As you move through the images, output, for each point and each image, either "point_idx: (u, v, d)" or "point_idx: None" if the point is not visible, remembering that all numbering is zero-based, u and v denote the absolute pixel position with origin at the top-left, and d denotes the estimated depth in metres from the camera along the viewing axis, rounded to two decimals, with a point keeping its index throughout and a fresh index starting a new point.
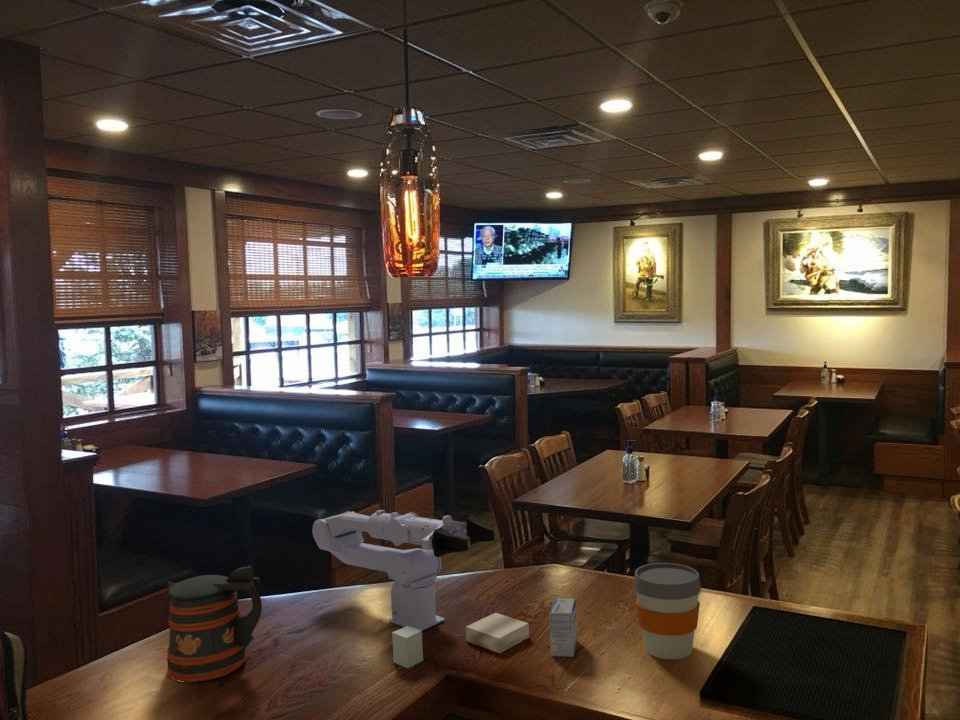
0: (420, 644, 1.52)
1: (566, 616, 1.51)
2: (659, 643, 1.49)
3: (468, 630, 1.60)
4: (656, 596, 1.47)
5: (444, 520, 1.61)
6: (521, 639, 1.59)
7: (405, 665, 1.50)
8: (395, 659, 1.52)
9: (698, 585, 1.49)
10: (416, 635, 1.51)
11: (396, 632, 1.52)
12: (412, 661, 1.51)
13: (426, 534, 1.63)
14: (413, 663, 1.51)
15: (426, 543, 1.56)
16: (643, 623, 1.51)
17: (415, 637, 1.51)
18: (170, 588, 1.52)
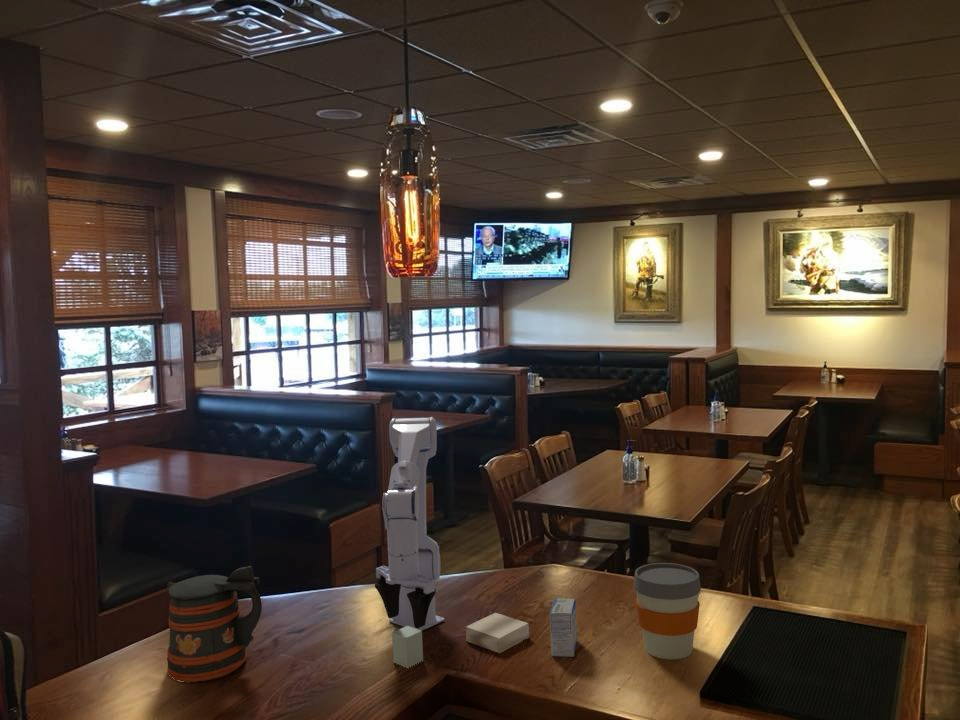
0: (420, 644, 1.52)
1: (566, 616, 1.51)
2: (659, 643, 1.49)
3: (468, 630, 1.60)
4: (656, 596, 1.47)
5: None
6: (521, 639, 1.59)
7: (405, 665, 1.50)
8: (395, 659, 1.52)
9: (698, 585, 1.49)
10: (416, 635, 1.51)
11: (396, 632, 1.52)
12: (412, 661, 1.51)
13: None
14: (413, 663, 1.51)
15: None
16: (643, 623, 1.51)
17: (415, 637, 1.51)
18: (170, 588, 1.52)
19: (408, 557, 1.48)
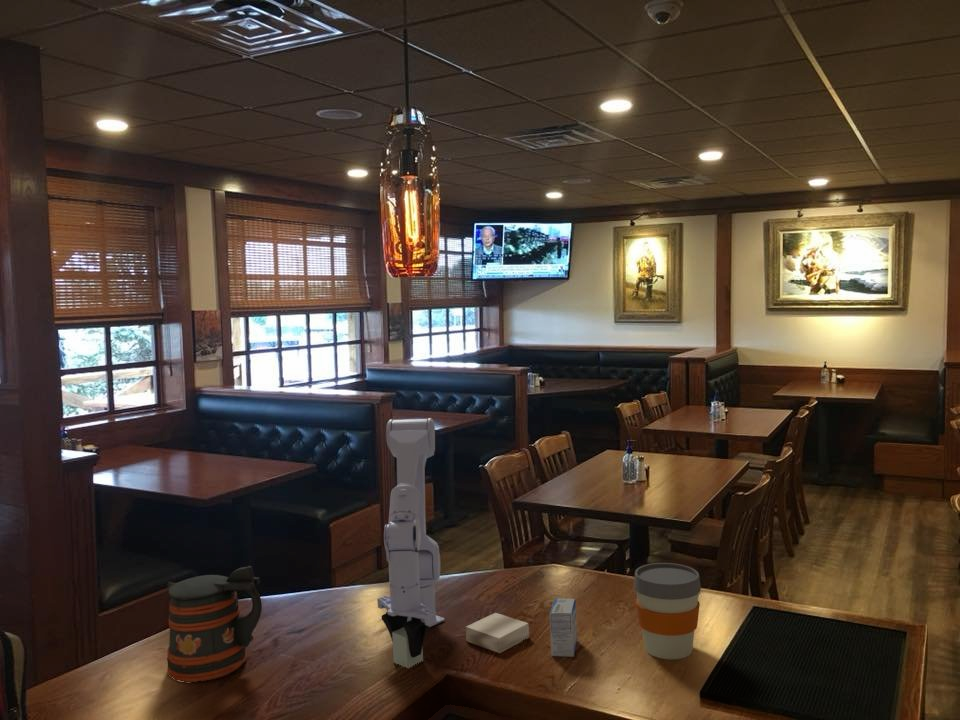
0: None
1: (566, 616, 1.51)
2: (659, 643, 1.49)
3: (468, 630, 1.60)
4: (656, 596, 1.47)
5: None
6: (521, 639, 1.59)
7: (405, 665, 1.50)
8: (395, 659, 1.52)
9: (698, 585, 1.49)
10: None
11: (396, 632, 1.52)
12: (412, 661, 1.51)
13: None
14: (413, 663, 1.51)
15: None
16: (643, 623, 1.51)
17: None
18: (170, 588, 1.52)
19: (409, 589, 1.49)
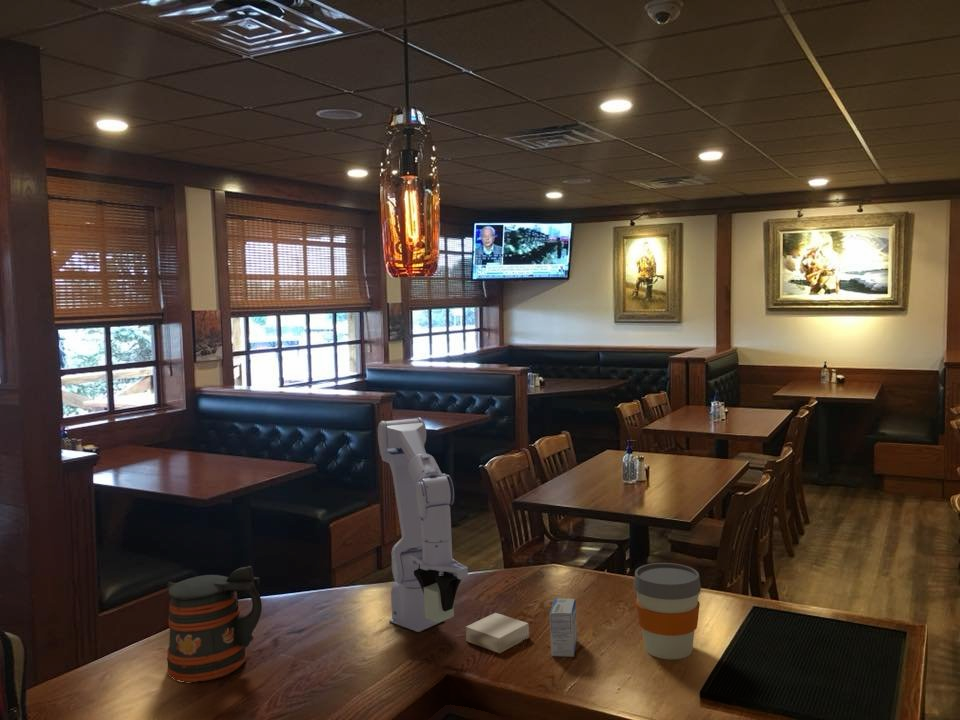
0: None
1: (566, 616, 1.51)
2: (659, 643, 1.49)
3: (468, 630, 1.60)
4: (656, 596, 1.47)
5: None
6: (521, 639, 1.59)
7: (436, 619, 1.52)
8: (426, 614, 1.54)
9: (698, 585, 1.49)
10: None
11: (427, 587, 1.54)
12: (443, 615, 1.53)
13: None
14: (444, 617, 1.53)
15: None
16: (643, 623, 1.51)
17: None
18: (170, 588, 1.52)
19: (442, 543, 1.51)
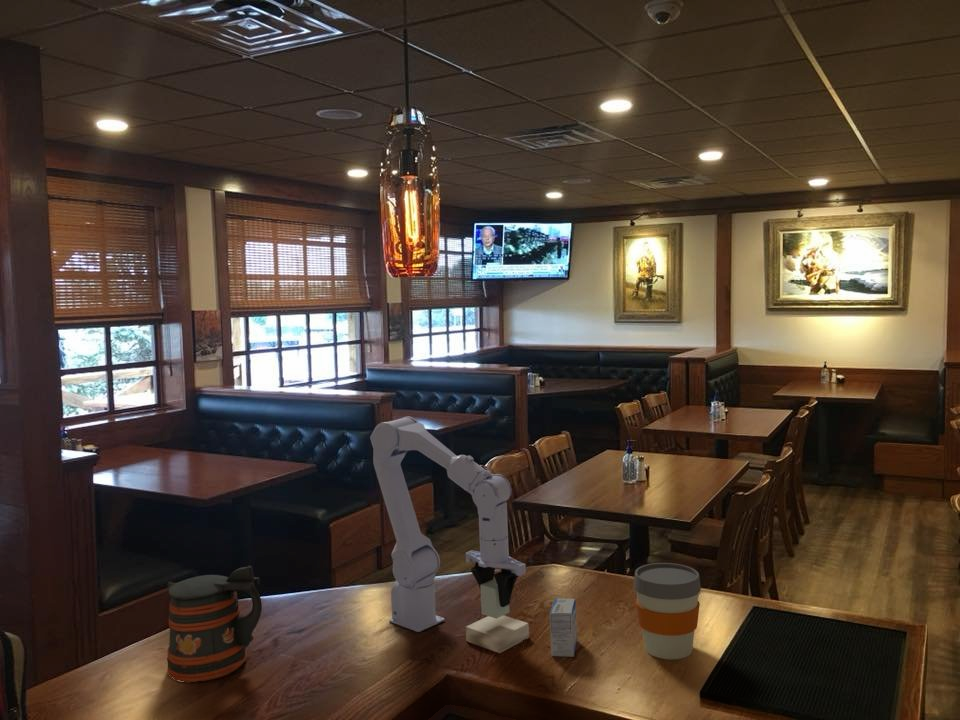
0: None
1: (566, 616, 1.51)
2: (659, 643, 1.49)
3: (468, 630, 1.60)
4: (656, 596, 1.47)
5: None
6: (521, 639, 1.59)
7: (494, 615, 1.58)
8: (483, 610, 1.60)
9: (698, 585, 1.50)
10: None
11: (484, 584, 1.60)
12: (500, 611, 1.58)
13: None
14: (501, 614, 1.59)
15: None
16: (643, 623, 1.51)
17: None
18: (170, 588, 1.52)
19: (500, 541, 1.57)
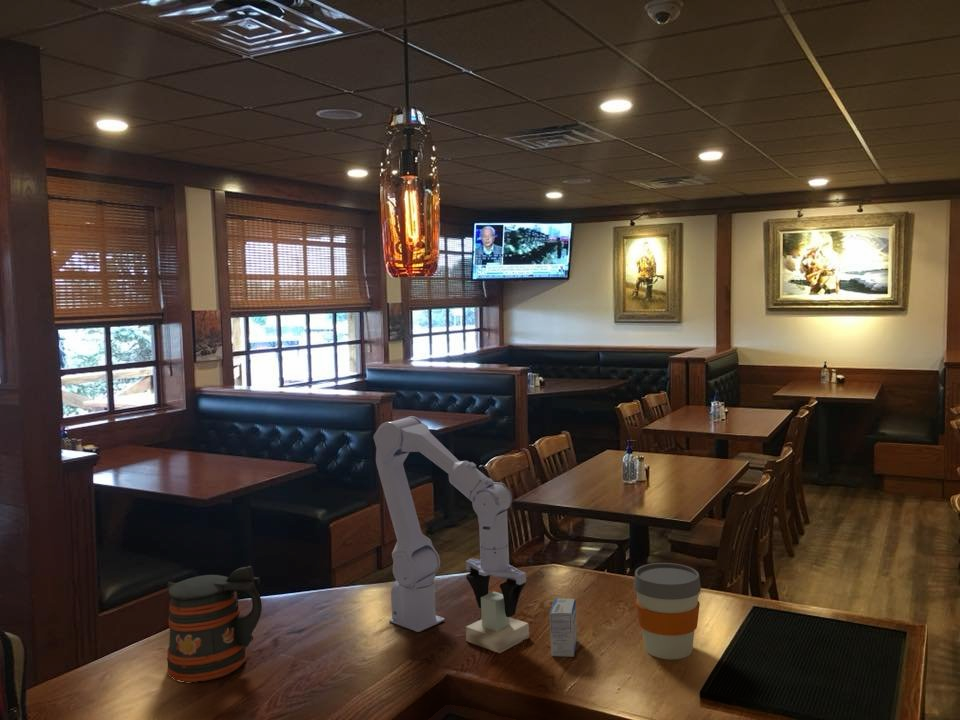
0: None
1: (566, 616, 1.51)
2: (659, 643, 1.49)
3: (468, 630, 1.60)
4: (656, 596, 1.47)
5: None
6: (521, 639, 1.59)
7: (494, 628, 1.58)
8: (483, 622, 1.60)
9: (698, 585, 1.50)
10: None
11: (484, 597, 1.60)
12: (500, 624, 1.58)
13: None
14: (501, 626, 1.59)
15: None
16: (643, 623, 1.51)
17: (503, 602, 1.59)
18: (170, 588, 1.52)
19: (500, 550, 1.57)
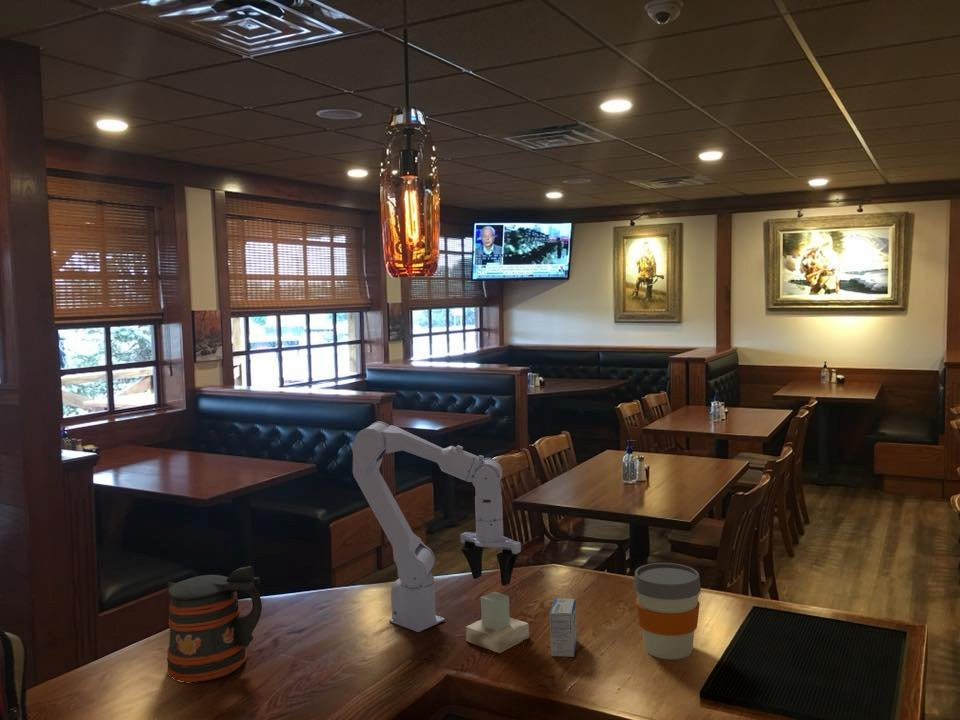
0: (507, 608, 1.60)
1: (566, 616, 1.51)
2: (659, 643, 1.49)
3: (468, 630, 1.60)
4: (656, 596, 1.47)
5: None
6: (521, 639, 1.59)
7: (494, 628, 1.58)
8: (483, 622, 1.60)
9: (698, 585, 1.49)
10: (504, 600, 1.59)
11: (484, 597, 1.60)
12: (500, 624, 1.58)
13: None
14: (501, 626, 1.59)
15: None
16: (643, 623, 1.51)
17: (503, 602, 1.59)
18: (170, 588, 1.52)
19: (496, 522, 1.65)
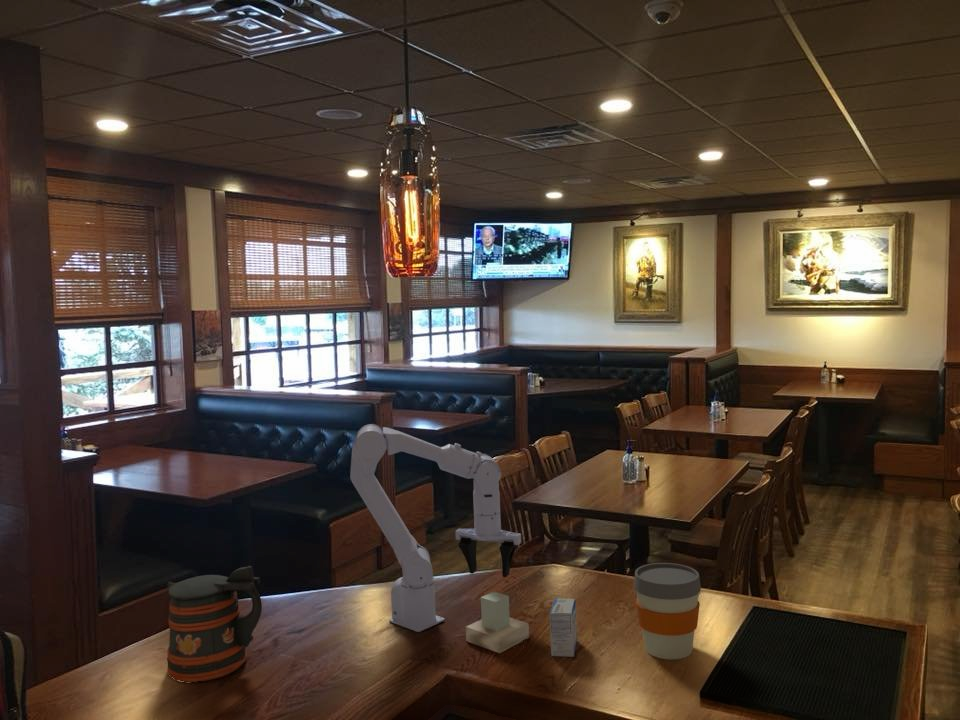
0: (507, 608, 1.60)
1: (566, 616, 1.51)
2: (659, 643, 1.49)
3: (468, 630, 1.60)
4: (656, 596, 1.47)
5: None
6: (521, 639, 1.59)
7: (494, 628, 1.58)
8: (483, 622, 1.60)
9: (698, 585, 1.50)
10: (504, 600, 1.59)
11: (484, 597, 1.60)
12: (500, 624, 1.58)
13: None
14: (501, 626, 1.59)
15: None
16: (643, 623, 1.51)
17: (503, 602, 1.59)
18: (170, 588, 1.52)
19: (496, 515, 1.69)
